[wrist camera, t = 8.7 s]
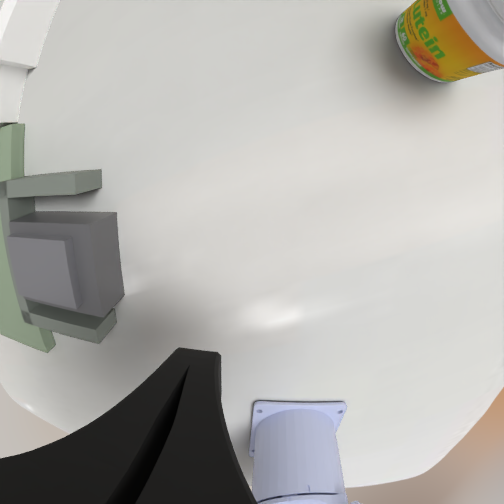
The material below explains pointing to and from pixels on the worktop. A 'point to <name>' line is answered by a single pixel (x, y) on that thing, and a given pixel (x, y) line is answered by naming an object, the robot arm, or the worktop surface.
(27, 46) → the white stepped block
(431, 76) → the supplement bottle
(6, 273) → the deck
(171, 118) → the worktop surface
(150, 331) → the worktop surface
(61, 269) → the dark grey block
